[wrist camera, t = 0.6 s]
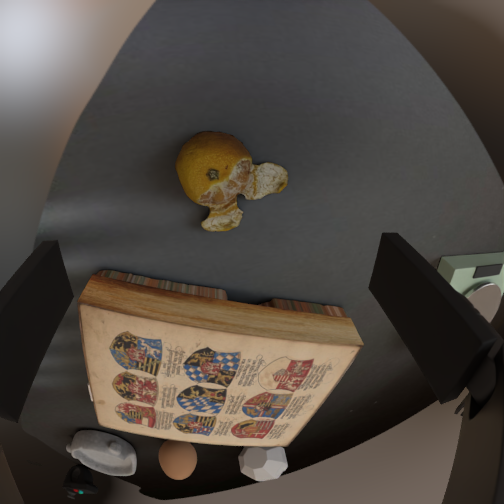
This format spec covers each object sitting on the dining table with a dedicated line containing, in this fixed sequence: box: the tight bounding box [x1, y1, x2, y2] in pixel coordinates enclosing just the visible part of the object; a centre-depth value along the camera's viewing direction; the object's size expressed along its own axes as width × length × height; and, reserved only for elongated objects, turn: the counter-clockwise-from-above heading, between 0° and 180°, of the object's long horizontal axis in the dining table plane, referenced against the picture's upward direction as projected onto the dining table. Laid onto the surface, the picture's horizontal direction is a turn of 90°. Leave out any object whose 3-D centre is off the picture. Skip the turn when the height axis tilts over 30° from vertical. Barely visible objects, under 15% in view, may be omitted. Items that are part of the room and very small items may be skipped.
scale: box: [437, 252, 504, 297], centre depth 34 cm, size 14×14×3 cm
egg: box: [159, 439, 197, 480], centre depth 41 cm, size 6×6×8 cm
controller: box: [63, 465, 98, 499], centre depth 49 cm, size 4×12×10 cm, turn 117°
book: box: [77, 270, 364, 447], centre depth 33 cm, size 25×6×28 cm
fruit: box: [175, 131, 288, 231], centre depth 23 cm, size 8×8×4 cm
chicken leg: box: [238, 446, 288, 481], centre depth 47 cm, size 8×18×8 cm, turn 20°
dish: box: [66, 430, 137, 476], centre depth 43 cm, size 14×14×5 cm
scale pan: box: [465, 282, 501, 323], centre depth 32 cm, size 11×11×1 cm
